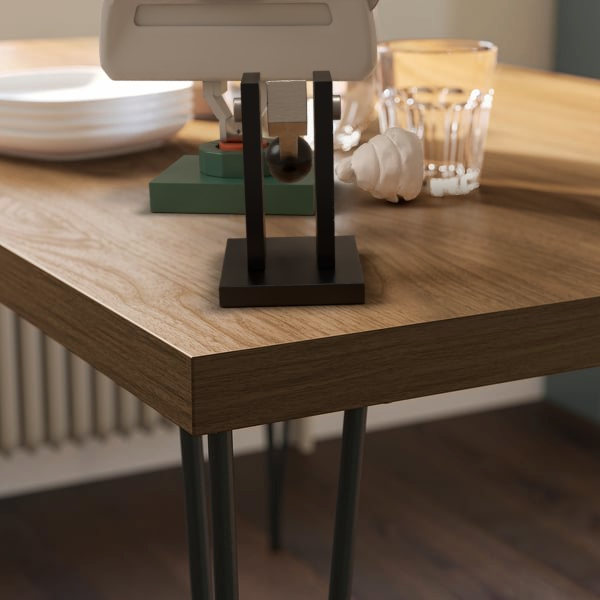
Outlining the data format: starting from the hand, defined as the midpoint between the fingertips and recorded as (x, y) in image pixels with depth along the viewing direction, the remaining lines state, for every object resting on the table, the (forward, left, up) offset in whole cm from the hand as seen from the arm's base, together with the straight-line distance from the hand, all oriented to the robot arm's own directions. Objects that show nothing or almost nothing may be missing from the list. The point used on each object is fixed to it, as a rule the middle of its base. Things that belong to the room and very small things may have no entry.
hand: (241, 141), depth 88 cm
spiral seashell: (-10, +1, -5) cm, 11 cm away
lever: (-6, +16, +2) cm, 17 cm away
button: (0, 0, -2) cm, 2 cm away
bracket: (-7, +20, -4) cm, 22 cm away
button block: (0, 0, -4) cm, 4 cm away
